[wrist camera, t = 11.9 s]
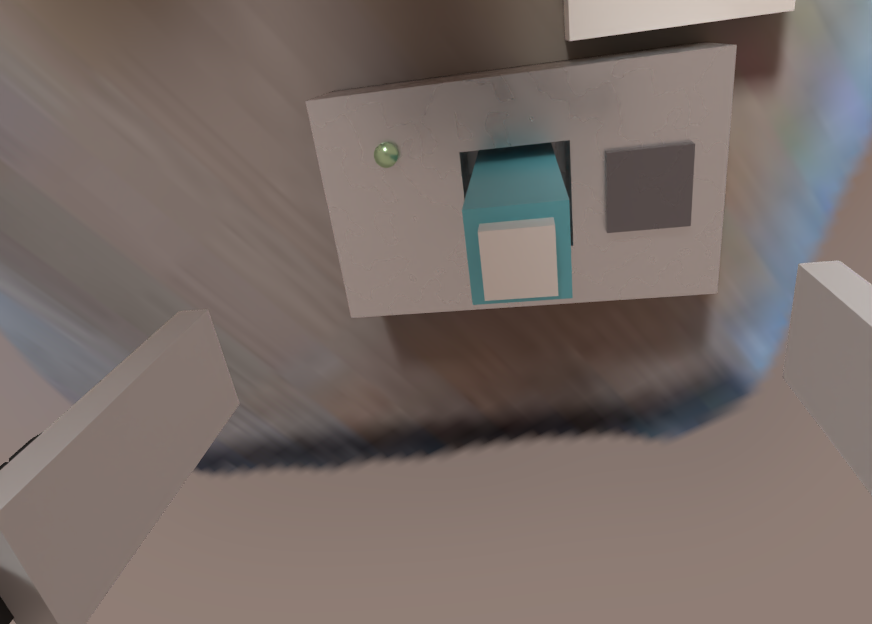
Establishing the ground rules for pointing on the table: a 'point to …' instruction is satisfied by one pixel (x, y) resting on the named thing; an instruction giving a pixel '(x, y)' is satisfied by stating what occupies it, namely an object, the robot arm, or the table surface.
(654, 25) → the holster
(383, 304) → the port panel
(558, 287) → the plug
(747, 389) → the table surface
